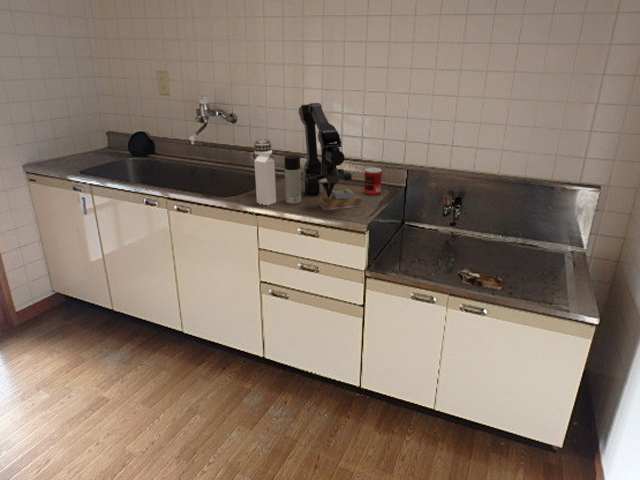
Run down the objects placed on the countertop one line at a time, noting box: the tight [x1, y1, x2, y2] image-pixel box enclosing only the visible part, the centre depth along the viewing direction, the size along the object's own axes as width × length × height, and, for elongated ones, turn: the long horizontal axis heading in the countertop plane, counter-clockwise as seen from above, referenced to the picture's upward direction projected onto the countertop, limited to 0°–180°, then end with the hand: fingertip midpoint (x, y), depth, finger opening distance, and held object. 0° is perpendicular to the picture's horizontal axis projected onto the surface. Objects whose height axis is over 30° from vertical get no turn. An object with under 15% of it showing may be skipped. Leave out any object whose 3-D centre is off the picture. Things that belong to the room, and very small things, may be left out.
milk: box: [253, 152, 277, 206], centre depth 197 cm, size 6×6×22 cm
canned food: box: [363, 167, 383, 196], centre depth 211 cm, size 8×8×11 cm
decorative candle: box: [252, 138, 275, 183], centre depth 208 cm, size 9×9×25 cm
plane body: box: [318, 193, 363, 211], centre depth 196 cm, size 17×8×4 cm, turn 107°
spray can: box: [284, 154, 302, 205], centre depth 199 cm, size 7×7×20 cm
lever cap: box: [331, 188, 355, 200], centre depth 195 cm, size 8×5×3 cm, turn 107°
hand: (328, 197), depth 194 cm, fingers closed
